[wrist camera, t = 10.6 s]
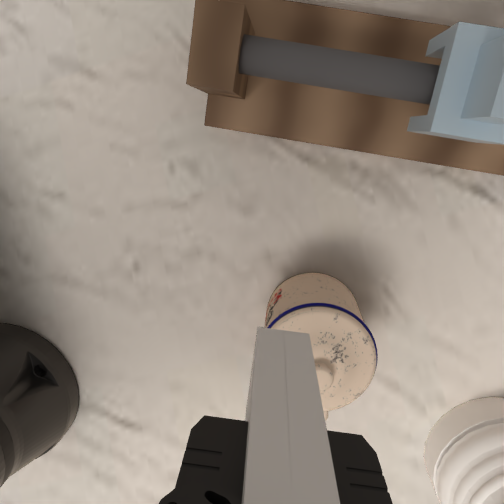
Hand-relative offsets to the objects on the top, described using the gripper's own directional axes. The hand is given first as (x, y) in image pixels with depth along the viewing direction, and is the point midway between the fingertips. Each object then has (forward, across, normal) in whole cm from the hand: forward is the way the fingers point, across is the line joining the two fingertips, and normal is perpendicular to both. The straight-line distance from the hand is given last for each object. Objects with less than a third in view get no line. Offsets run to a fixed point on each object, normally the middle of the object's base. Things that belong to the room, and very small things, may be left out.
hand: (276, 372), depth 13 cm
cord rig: (+28, +6, +11) cm, 30 cm away
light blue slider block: (+22, +11, +11) cm, 27 cm away
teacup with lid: (+28, +5, -11) cm, 31 cm away
